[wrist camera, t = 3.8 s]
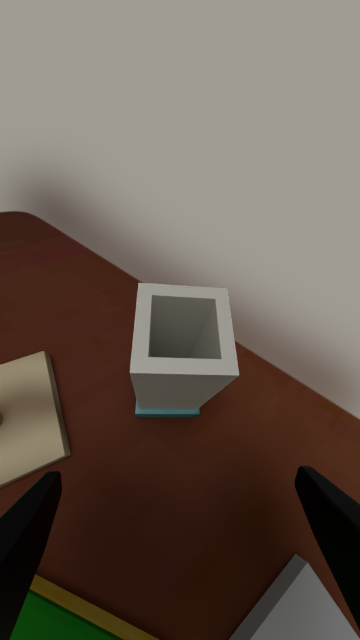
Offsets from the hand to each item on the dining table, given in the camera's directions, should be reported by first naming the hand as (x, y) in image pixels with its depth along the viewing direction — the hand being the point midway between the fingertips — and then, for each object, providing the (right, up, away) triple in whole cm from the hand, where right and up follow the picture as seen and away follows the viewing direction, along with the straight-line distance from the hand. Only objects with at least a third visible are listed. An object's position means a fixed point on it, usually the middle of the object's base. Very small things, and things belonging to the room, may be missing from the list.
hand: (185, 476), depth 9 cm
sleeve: (-2, -1, +13) cm, 13 cm away
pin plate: (-15, -3, +10) cm, 18 cm away
